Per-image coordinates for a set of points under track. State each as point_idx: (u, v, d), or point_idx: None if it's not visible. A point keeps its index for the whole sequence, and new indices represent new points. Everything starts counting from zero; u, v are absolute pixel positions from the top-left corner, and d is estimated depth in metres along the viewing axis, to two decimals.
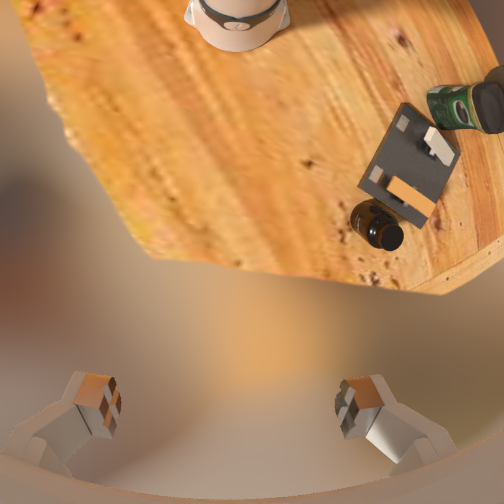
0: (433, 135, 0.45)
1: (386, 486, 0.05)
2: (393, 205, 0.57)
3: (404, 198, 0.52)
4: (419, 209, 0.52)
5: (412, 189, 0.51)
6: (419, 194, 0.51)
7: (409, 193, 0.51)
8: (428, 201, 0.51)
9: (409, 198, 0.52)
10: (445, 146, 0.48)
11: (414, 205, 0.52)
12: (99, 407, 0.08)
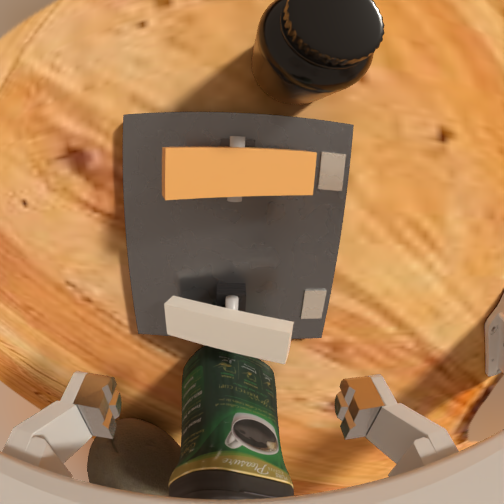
0: (285, 347, 0.22)
1: (386, 486, 0.05)
2: (244, 123, 0.22)
3: (267, 154, 0.19)
4: (209, 151, 0.17)
5: (257, 191, 0.19)
6: (231, 191, 0.19)
7: (260, 176, 0.19)
8: (194, 191, 0.18)
9: (254, 163, 0.18)
10: (217, 341, 0.23)
11: (230, 153, 0.18)
12: (99, 407, 0.08)
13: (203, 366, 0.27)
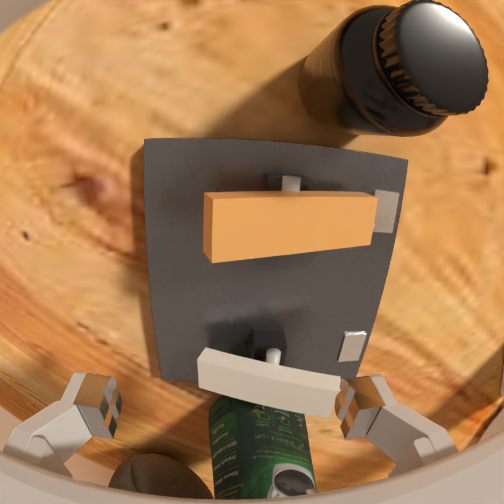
0: (332, 404, 0.19)
1: (386, 486, 0.05)
2: (292, 155, 0.19)
3: (329, 203, 0.16)
4: (266, 202, 0.14)
5: (316, 246, 0.16)
6: (288, 248, 0.16)
7: (320, 228, 0.16)
8: (247, 251, 0.15)
9: (315, 214, 0.16)
10: (257, 397, 0.20)
11: (290, 203, 0.15)
12: (99, 407, 0.08)
13: (235, 413, 0.24)
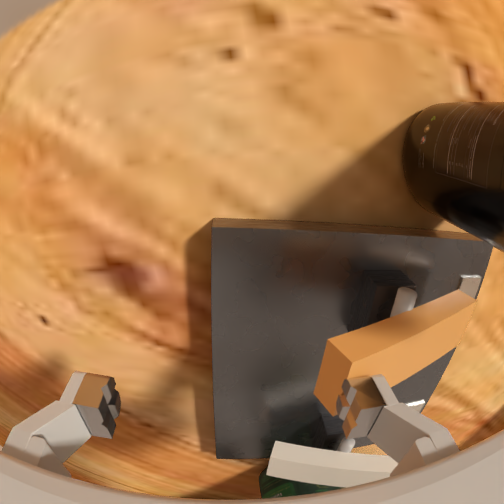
0: None
1: (386, 486, 0.05)
2: (394, 249, 0.15)
3: (444, 324, 0.12)
4: (398, 346, 0.11)
5: (422, 365, 0.13)
6: (402, 377, 0.12)
7: (431, 349, 0.12)
8: None
9: (431, 339, 0.12)
10: (328, 481, 0.17)
11: (416, 339, 0.11)
12: (98, 407, 0.08)
13: (293, 484, 0.21)
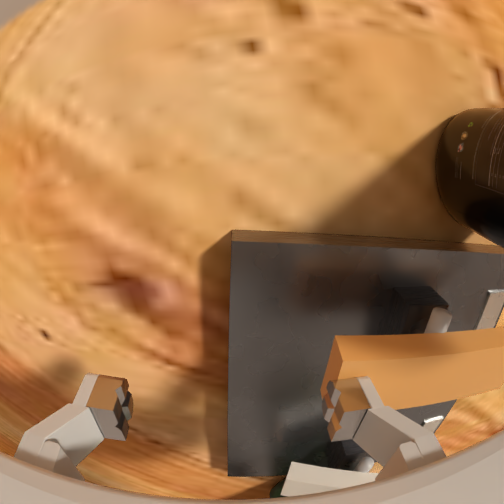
0: None
1: (386, 487, 0.05)
2: (425, 264, 0.14)
3: (475, 357, 0.10)
4: (405, 363, 0.10)
5: (444, 398, 0.11)
6: (415, 402, 0.11)
7: (456, 382, 0.10)
8: None
9: (455, 369, 0.10)
10: None
11: (432, 362, 0.10)
12: (113, 409, 0.08)
13: None
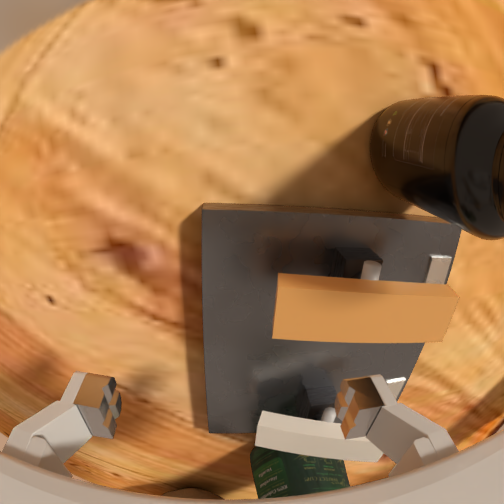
0: (382, 452, 0.18)
1: (386, 486, 0.05)
2: (363, 229, 0.18)
3: (401, 301, 0.14)
4: (331, 295, 0.14)
5: (380, 338, 0.15)
6: (350, 337, 0.15)
7: (387, 323, 0.15)
8: (307, 334, 0.15)
9: (383, 310, 0.14)
10: (313, 451, 0.19)
11: (357, 298, 0.14)
12: (99, 407, 0.08)
13: (282, 458, 0.23)
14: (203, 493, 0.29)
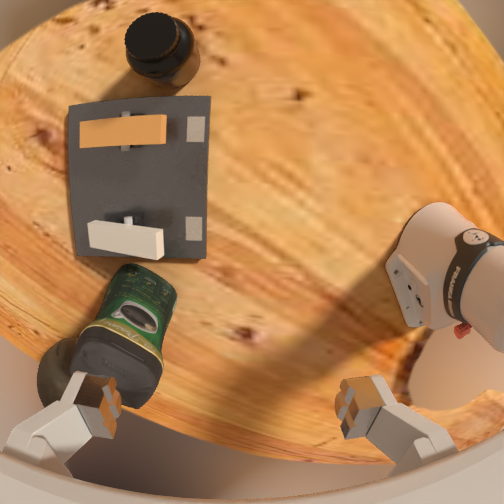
0: (155, 245, 0.31)
1: (386, 487, 0.05)
2: (137, 104, 0.31)
3: (127, 119, 0.27)
4: (98, 121, 0.27)
5: (122, 142, 0.28)
6: (109, 143, 0.28)
7: (124, 133, 0.28)
8: (91, 143, 0.28)
9: (120, 125, 0.27)
10: (117, 246, 0.33)
11: (108, 121, 0.27)
12: (99, 407, 0.08)
13: (116, 276, 0.37)
14: None
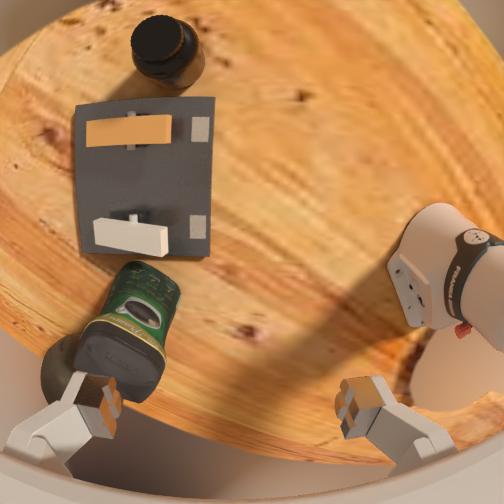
0: (159, 243, 0.32)
1: (386, 486, 0.05)
2: (143, 104, 0.32)
3: (133, 119, 0.28)
4: (104, 121, 0.28)
5: (128, 141, 0.29)
6: (115, 142, 0.29)
7: (130, 132, 0.29)
8: (98, 142, 0.29)
9: (126, 125, 0.28)
10: (122, 243, 0.33)
11: (114, 121, 0.28)
12: (99, 407, 0.08)
13: (121, 273, 0.37)
14: None
